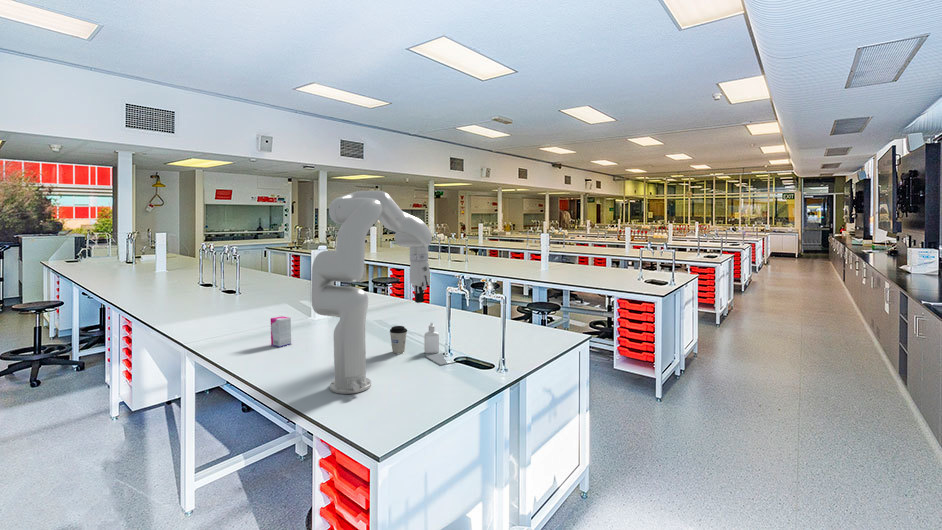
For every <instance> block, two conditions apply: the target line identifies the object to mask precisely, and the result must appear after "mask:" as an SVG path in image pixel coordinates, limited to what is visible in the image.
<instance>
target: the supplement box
mask: <svg viewBox="0 0 942 530" xmlns="http://www.w3.org/2000/svg"><path fill="white" fill-rule="evenodd" d="M291 319H292V318H291V317H289V316H284V315H283V316H282V315H281V316H277V317H276V316H275V317H271V318H270V345H271V347H275V348H279V349H280V348H283V346H284V347H287V345H288V346H291V345H292V322H291V321H292V320H291ZM290 344H291V345H290Z"/></svg>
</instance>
